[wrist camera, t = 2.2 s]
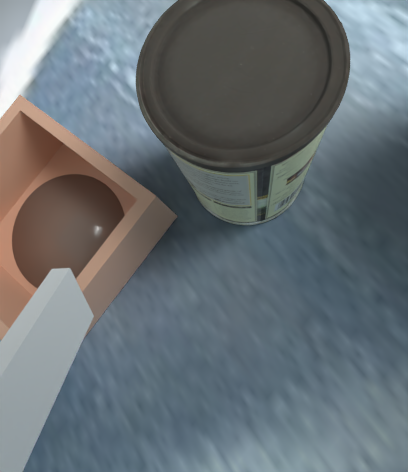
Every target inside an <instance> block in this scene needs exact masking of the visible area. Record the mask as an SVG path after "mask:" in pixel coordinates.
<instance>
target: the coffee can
mask: <svg viewBox="0 0 408 472" xmlns="http://www.w3.org/2000/svg"><path fill="white" fill-rule="evenodd" d="M349 72H350V50H349V43H348V39H347V36H346V33H345V30H344V28H343V26H342V23H341V22H340V21H339V19H338V17H337V15H336V14H335V12H334V11H333V10H332V9H331V7H330V6H329V5H328V4H327V3H326V2H325V1H324V0H178V1H177V2H176V3H174V4H173V5H172V6H171V7H170V8H169V9H168V10H166V11H165V12H164V13H163V15H162V16H161V17H160V18H159V19H158V21H157V22H156V23H155V25H154V26H153V28H152V29H151V31H150V32H149V34H148V36H147V38H146V40H145V42H144V44H143V47H142V49H141V52H140V56H139V59H138V64H137V70H136V91H137V97H138V102H139V106H140V109H141V111H142V114H143V116H144V118H145V120H146V122H147V123H148V125H149V127H150V128H151V130H152V131H153V133H154V134H155V135H156V136H157V138H158V139H159V140H160V141H161V142H162V143H163V144H164V145H165V147H166V148H167V150H168V151H169V153H170V155H171V156H172V158H173V159H174V161H175V162H176V164H177V165H178V167H179V168H180V170H181V171H182V173H183V175H184V176H185V178H186V179H187V181H188V182H189V184H190V185H191V187H192V188H193V190H194V191H195V194H196V196H197V198H198V200H199V201H200V202H201V204H202V205H203V206H204V207H205V208H206V209H207V210H208V211H209V212H210V213H211V214H212V215H214V216H216V217H217V218H219V219H221V220H223V221H226V222H229V223H232V224H239V225H255V224H260V223H263V222H267V221H269V220H272V219H273V218H276V217H277V216H279V215H280V214H282V213H283V212H284V211H285V210H286V209H287V208H288V207H289V206H290V205H291V204H292V203H293V202H294V200H295V199H296V197H297V196H298V194H299V192H300V190H301V188H302V185H303V182H304V178H305V176H306V174H307V171H308V169H309V167H310V164H311V162H312V160H313V157H314V155H315V152H316V150H317V148H318V145H319V143H320V141H321V139H322V136H323V134H324V131H325V129H326V127H327V124H328V123H329V121H330V120H331V118H332V117H333V115H334V114H335V112H336V110H337V109H338V107H339V105H340V103H341V101H342V98H343V96H344V93H345V90H346V87H347V83H348V78H349Z"/></svg>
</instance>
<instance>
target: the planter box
mask: <svg viewBox="0 0 408 472" xmlns="http://www.w3.org/2000/svg"><path fill="white" fill-rule="evenodd" d="M177 217H178V216H177V215H176V214H175V213H174V212H173V211H172V210H171V209H169V208H168V207H167V206H166V205H165V204H164V203H163V202H162V201H161V200H160V199H159V198H158V197H157V196H156V195H154V194H153V193H152V192H150V191H149V190H148V189H146V188H145V187H143V186H142V185H141V184H139V183H138V182H137V181H135V180H134V179H133V178H131V177H130V176H129V175H127V174H126V173H125V172H123V171H122V170H121V169H119V168H118V167H117V166H115V165H114V164H113V163H111V162H110V161H108V160H107V159H106V158H104V157H103V156H102V155H100V154H99V153H98V152H96V151H95V150H94V149H92V148H91V147H90V146H88V145H87V144H86V143H84V142H83V141H82V140H80V139H79V138H78V137H76V136H75V135H73V134H72V133H71V132H69V131H68V130H67V129H65V128H64V127H63V126H61V125H60V124H59V123H57V122H56V121H55V120H53V119H52V118H51V117H49V116H48V115H47V114H45V113H44V112H43V111H41V110H40V109H38V108H37V107H36V106H34V105H33V104H32V103H30V102H29V101H28V100H26V99H25V98H24V97H22V96H21V95H19V96H18V98H17V99H16V100H15V101H14V103H13V104H12V105H11V106H10V108H9V109H8V110H7V111H6V113H5V114H4V115H3V116H2V118H1V119H0V340H2V339H3V337H4V336H5V335H6V333H7V332H8V330H9V329H10V327H11V326H12V325H13V323H14V322H15V320H16V319H17V318H18V316H19V315H20V313H21V312H22V310H23V309H24V308H25V306H26V305H27V303H28V302H29V300H30V299H31V298H32V296H33V295H34V293H35V292H36V291H37V289H38V288H39V286H40V285H41V283H42V282H43V281H44V279H45V278H46V276H47V275H48V273H49V272H50V271H51V269H59V268H70V269H71V271H72V273H73V275H74V277H75V279H76V281H77V283H78V285H79V287H80V289H81V291H82V293H83V295H84V297H85V299H86V301H87V303H88V305H89V307H90V309H91V311H92V313H93V315H94V317H93V319H92V321H91V324H90V326H89V328H88V330H87V332H86V335H87V334H88V333H89V331H90V330H91V329H92V327H93V326H94V325H95V324H96V322H97V321H98V320H99V318H100V317H101V316H102V314H103V313H104V312H105V310H106V309H107V308H108V307H109V305H110V304H111V303H112V301H113V300H114V299H115V297H116V296H117V295H118V294H119V292H120V291H121V290H122V288H123V287H124V286H125V284H126V283H127V282H128V280H129V279H130V278H131V277H132V275H133V274H134V273H135V271H136V270H137V269H138V267H139V266H140V265H141V264H142V262H143V261H144V260H145V258H146V257H147V256H148V254H149V253H150V252H151V250H152V249H153V248H154V247H155V245H156V244H157V243H158V241H159V240H160V239H161V237H162V236H163V235H164V233H165V232H166V231H167V230H168V228H169V227H170V226H171V224H172V223H173V222H174V220H175V219H176V218H177ZM86 335H85V337H86ZM85 337H84V338H85Z"/></svg>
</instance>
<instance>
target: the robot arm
mask: <svg viewBox="0 0 408 472" xmlns="http://www.w3.org/2000/svg"><path fill="white" fill-rule="evenodd" d="M93 317H94V315H93V313H92V311H91V309H90V307H89V305H88V303H87V301H86V299H85V297H84V295H83V293H82V291H81V289H80V287H79V285H78V283H77V281H76V279H75V277H74V275H73V273H72V271H71V269H70V268H59V269H51V271H50V272H49V273H48V275H47V276H46V278H45V279H44V281H43V282H42V283H41V285H40V286H39V288H38V289H37V291H36V292H35V293H34V295H33V296H32V298H31V299H30V300H29V302H28V303H27V305H26V306H25V308H24V309H23V310H22V312H21V313H20V315H19V316H18V318H17V319H16V320H15V322H14V323H13V325H12V326H11V327H10V329H9V330H8V332H7V333H6V335H5V336H4V337H3V339H2V340H1V342H0V472H23V470H24V468H25V465H26V463H27V461H28V459H29V457H30V454H31V452H32V450H33V448H34V446H35V444H36V441H37V439H38V437H39V435H40V433H41V430H42V428H43V426H44V424H45V422H46V420H47V417H48V415H49V413H50V411H51V409H52V406H53V404H54V402H55V400H56V398H57V396H58V393H59V391H60V389H61V387H62V385H63V383H64V380H65V378H66V376H67V374H68V372H69V369H70V367H71V365H72V363H73V361H74V359H75V356H76V354H77V352H78V350H79V348H80V345H81V343H82V341H83V339H84V337H85V335H86V332H87V330H88V328H89V326H90V324H91V321H92V319H93Z"/></svg>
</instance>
